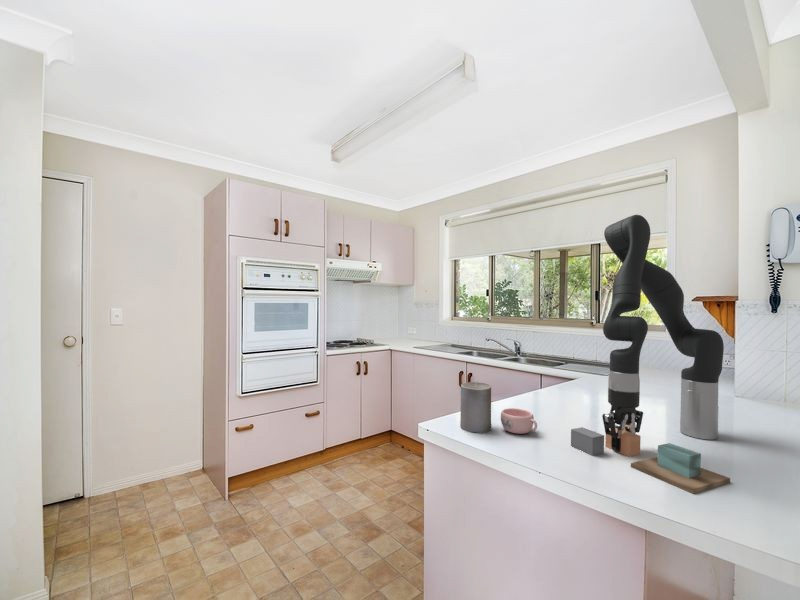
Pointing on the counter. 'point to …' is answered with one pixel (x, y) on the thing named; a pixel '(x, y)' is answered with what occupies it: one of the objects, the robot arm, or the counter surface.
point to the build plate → (679, 479)
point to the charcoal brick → (587, 441)
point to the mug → (517, 420)
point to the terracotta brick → (626, 443)
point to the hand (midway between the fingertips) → (622, 448)
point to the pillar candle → (475, 407)
